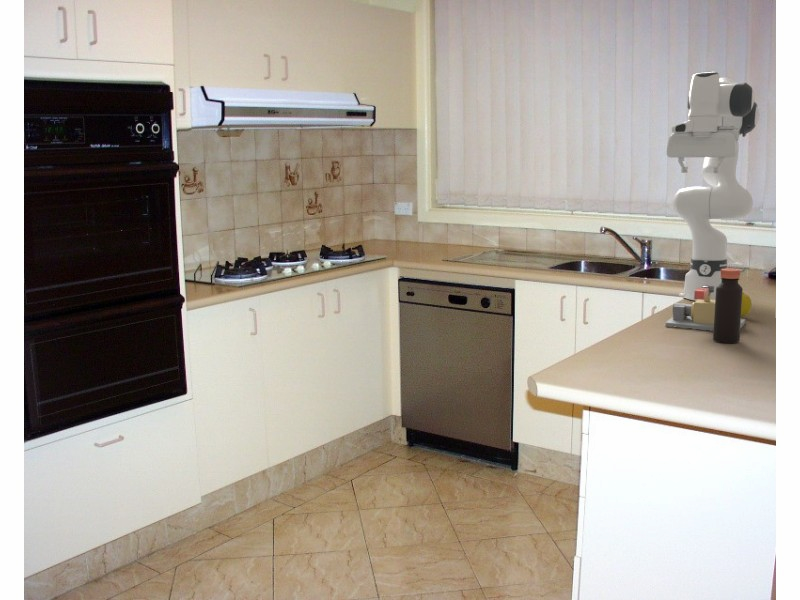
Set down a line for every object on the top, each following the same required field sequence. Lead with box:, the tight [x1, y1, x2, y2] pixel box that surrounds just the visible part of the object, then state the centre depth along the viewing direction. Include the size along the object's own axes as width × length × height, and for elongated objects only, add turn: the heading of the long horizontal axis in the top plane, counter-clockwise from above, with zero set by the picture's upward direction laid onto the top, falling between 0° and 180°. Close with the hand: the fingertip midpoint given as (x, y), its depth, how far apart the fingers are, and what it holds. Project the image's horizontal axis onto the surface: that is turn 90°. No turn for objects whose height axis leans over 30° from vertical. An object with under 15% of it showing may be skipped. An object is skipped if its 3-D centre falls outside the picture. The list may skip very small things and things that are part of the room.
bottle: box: [712, 267, 743, 344], centre depth 230 cm, size 7×7×20 cm
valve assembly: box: [665, 293, 746, 332], centre depth 251 cm, size 20×16×10 cm
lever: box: [694, 285, 714, 300], centre depth 246 cm, size 4×14×2 cm, turn 150°
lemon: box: [741, 292, 753, 319], centre depth 261 cm, size 6×6×8 cm
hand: (700, 172), depth 255 cm, fingers open, 8 cm apart
